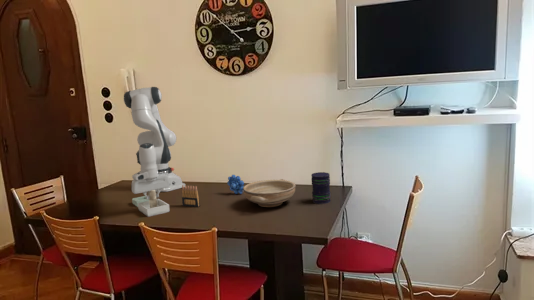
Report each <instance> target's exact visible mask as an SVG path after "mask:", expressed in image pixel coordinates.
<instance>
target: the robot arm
mask: <svg viewBox="0 0 534 300" xmlns="http://www.w3.org/2000/svg"><path fill="white" fill-rule="evenodd" d="M161 101H162V92H161V90H160V88H159V87H157V86H151V87H150V86H149V87H141V88H137V89H133V90H128V91H126V92H124V94H123V103H124V104H125V107H126V108H128V109H130V111H131V119H132V121H133V124H134V125H135V126H137V127H139V128H141V129H144V130H146V131H142V132H140V133H139V134H138V135H137V144H138V145H139V146H138V150H137V151H136V153H135V156H136V160H137V162H136V163H137V164H139V165H140V171H138V172H136V173H134V174H132V176H131V177H132V181H131V192H132V193H133V194H134V195H136V194H137V195H138V194H141V193H142V194H143V196H146V200H148V199H150V198H149V196H148V191H151V190H156V199H158V198H160V195H159V194H160V193H161V192H164V193H165V192H171V191H174V190H179V189H182V185H183V186H184V188H185V185H186V183H185V182H183V181H182V178H181V176H179V175H178V174H176V173H174V170H175V167H170V166H169V162H170V161H171V160H172V152H171V150H170V148H169V147H173V146H175V144H176V142H177V135H176V134H175V132H174V131H172V130H171V129H170V128H168V127H167V126H166V125H165V123H164V122H163V120H162V118H161V115H160V111H159V109H158V105H157V104H160V103H161ZM186 186H187V185H186Z"/></svg>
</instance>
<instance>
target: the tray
mask: <svg viewBox="0 0 534 300" xmlns="http://www.w3.org/2000/svg"><path fill="white" fill-rule="evenodd" d="M156 199H157V207H154V208H150V205H149V201H146V202H141V203H138V207H137V209H138V211H139V212H140V213H142V214H143V215H145V216H146V217H148V218H149V217H154V216H157V215H161V214H166V213H170V211H171V210H170V204H169V203H167V202H165V201H164V200H162V199H160V198H156Z"/></svg>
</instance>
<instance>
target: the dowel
mask: <svg viewBox="0 0 534 300" xmlns="http://www.w3.org/2000/svg"><path fill="white" fill-rule="evenodd" d="M156 194H157V192H156V190H151V191H148V192H147V196H149V198H150V199H149V205H150V208H154V207H157V199H158V198H156Z"/></svg>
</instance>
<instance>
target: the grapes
mask: <svg viewBox="0 0 534 300" xmlns="http://www.w3.org/2000/svg"><path fill="white" fill-rule="evenodd" d="M241 179H242V178H241V177H240V176H239V175H237V176H236V175H235V174H231V176H228V178H227V180H228V181H227V185H228V186H229V190H230V191H232V192H233V193H234V194H235V195H238V194H240V195H241V194H244V190H243V187H244V186H245V185H244V184H245V181H243V180H241Z"/></svg>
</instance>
